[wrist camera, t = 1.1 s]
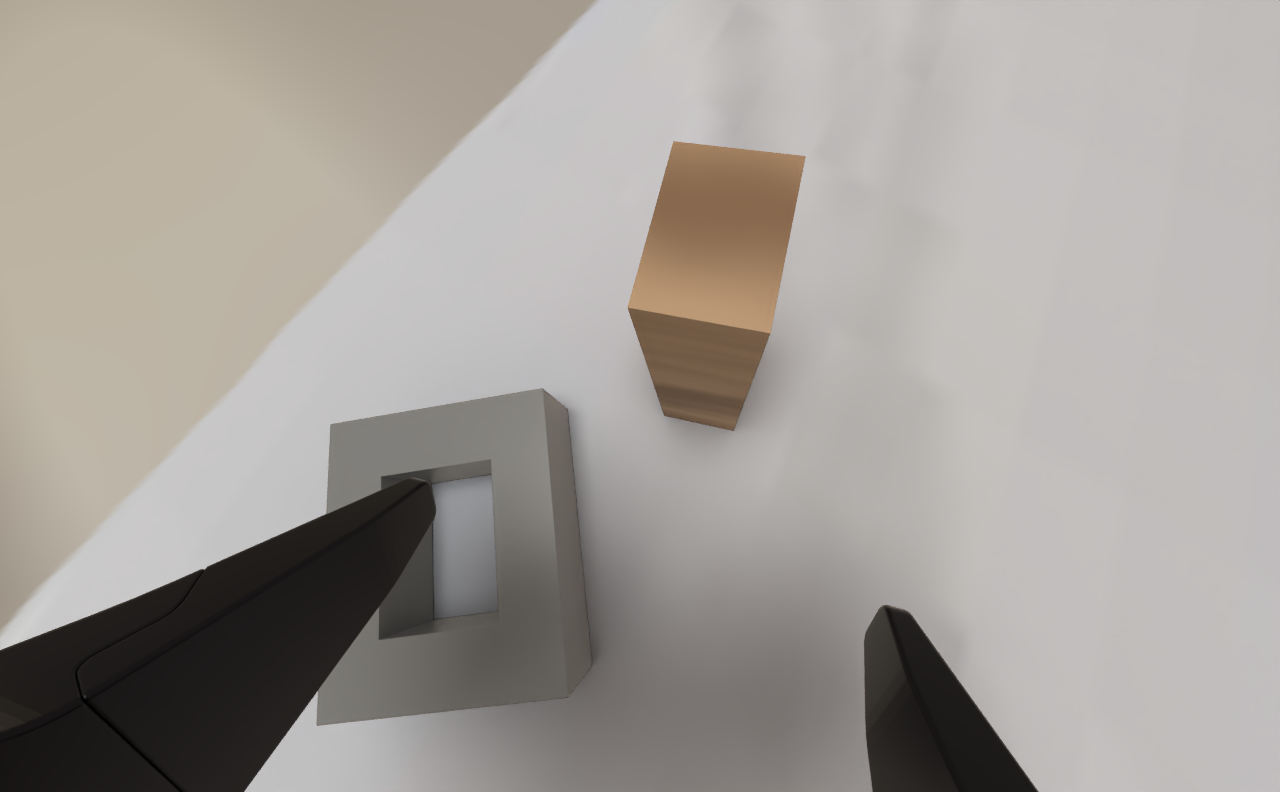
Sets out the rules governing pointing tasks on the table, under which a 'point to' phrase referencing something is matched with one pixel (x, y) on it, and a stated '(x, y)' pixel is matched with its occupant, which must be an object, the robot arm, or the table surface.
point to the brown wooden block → (713, 276)
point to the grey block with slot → (525, 563)
